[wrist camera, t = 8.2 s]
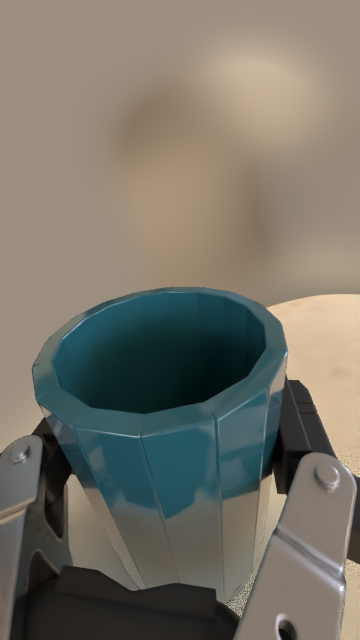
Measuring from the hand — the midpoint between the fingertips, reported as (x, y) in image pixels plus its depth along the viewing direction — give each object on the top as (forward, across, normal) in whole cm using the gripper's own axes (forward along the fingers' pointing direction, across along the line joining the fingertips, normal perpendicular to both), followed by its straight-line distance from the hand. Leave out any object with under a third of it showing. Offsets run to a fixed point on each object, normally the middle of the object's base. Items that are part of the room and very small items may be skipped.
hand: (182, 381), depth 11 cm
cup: (-2, 0, +6) cm, 6 cm away
